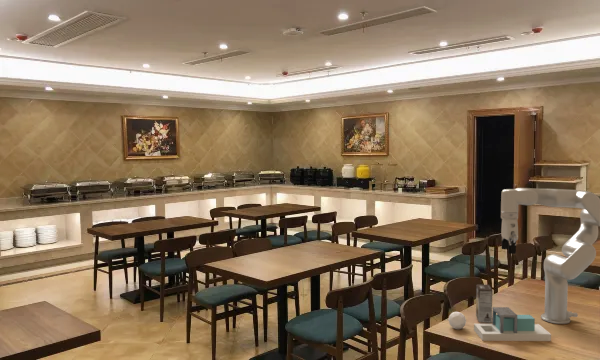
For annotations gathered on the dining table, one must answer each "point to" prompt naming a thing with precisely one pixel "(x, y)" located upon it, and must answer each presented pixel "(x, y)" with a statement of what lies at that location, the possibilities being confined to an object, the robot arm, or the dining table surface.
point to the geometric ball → (457, 320)
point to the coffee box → (484, 303)
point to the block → (522, 323)
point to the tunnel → (503, 313)
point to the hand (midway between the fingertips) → (508, 251)
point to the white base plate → (511, 334)
